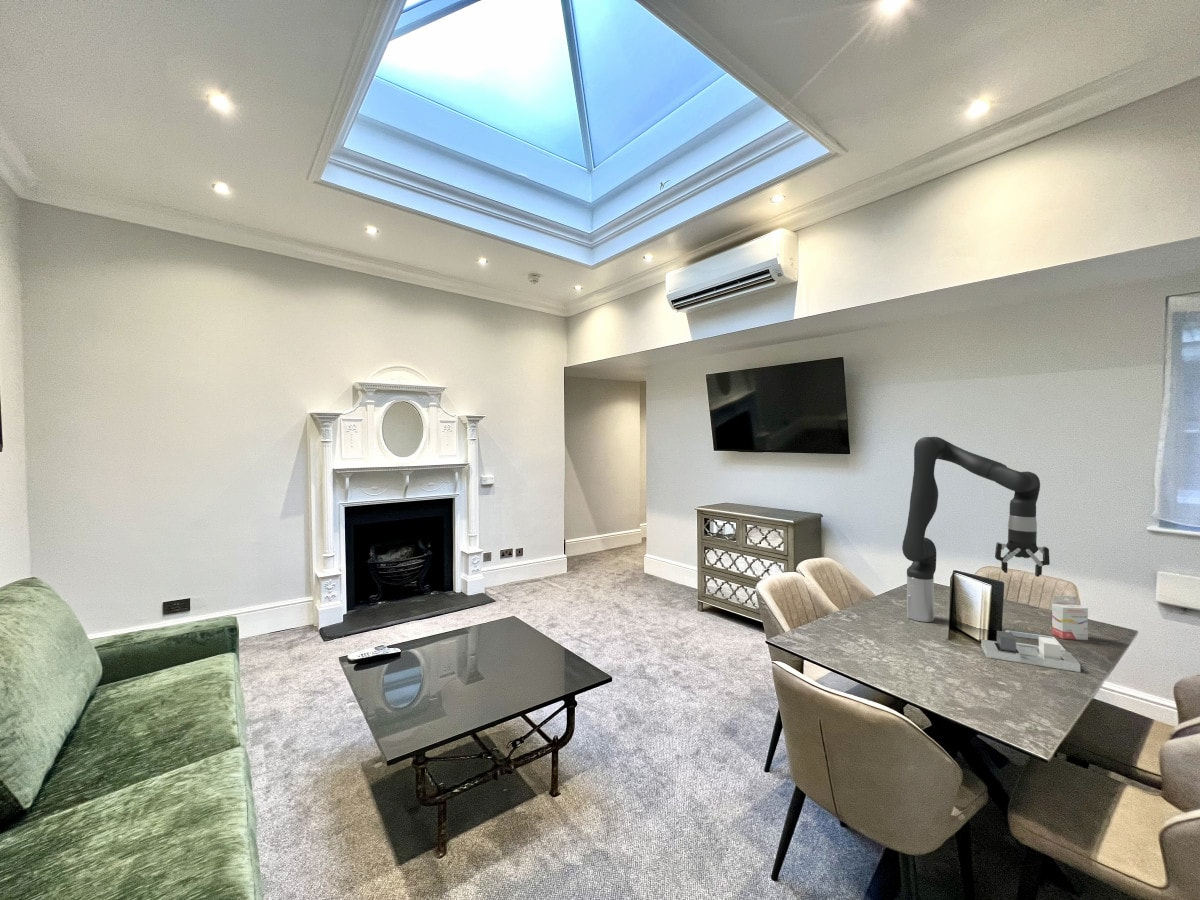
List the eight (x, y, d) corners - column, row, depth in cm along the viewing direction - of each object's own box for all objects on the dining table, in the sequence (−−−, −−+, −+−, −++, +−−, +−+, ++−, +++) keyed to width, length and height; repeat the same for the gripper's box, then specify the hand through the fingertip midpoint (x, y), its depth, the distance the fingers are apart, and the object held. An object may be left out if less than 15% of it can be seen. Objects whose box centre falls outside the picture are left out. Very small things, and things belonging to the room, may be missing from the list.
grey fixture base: (986, 657, 161) (986, 636, 161) (981, 646, 170) (981, 626, 170) (1080, 672, 149) (1080, 649, 149) (1069, 659, 158) (1069, 638, 158)
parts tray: (1014, 647, 168) (1014, 643, 168) (1005, 634, 180) (1005, 630, 180) (1066, 655, 162) (1066, 650, 162) (1053, 640, 173) (1053, 636, 173)
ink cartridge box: (1063, 639, 174) (1062, 599, 174) (1051, 634, 179) (1051, 595, 179) (1089, 640, 173) (1088, 599, 173) (1076, 634, 178) (1076, 595, 178)
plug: (1044, 664, 155) (1043, 642, 155) (1039, 657, 160) (1038, 636, 160) (1060, 667, 153) (1060, 645, 153) (1055, 659, 158) (1054, 638, 158)
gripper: (998, 528, 168) (997, 574, 169) (1052, 532, 161) (1051, 580, 161) (994, 524, 175) (993, 568, 175) (1046, 528, 167) (1045, 574, 168)
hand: (1021, 574), depth 168 cm, fingers open, 8 cm apart
